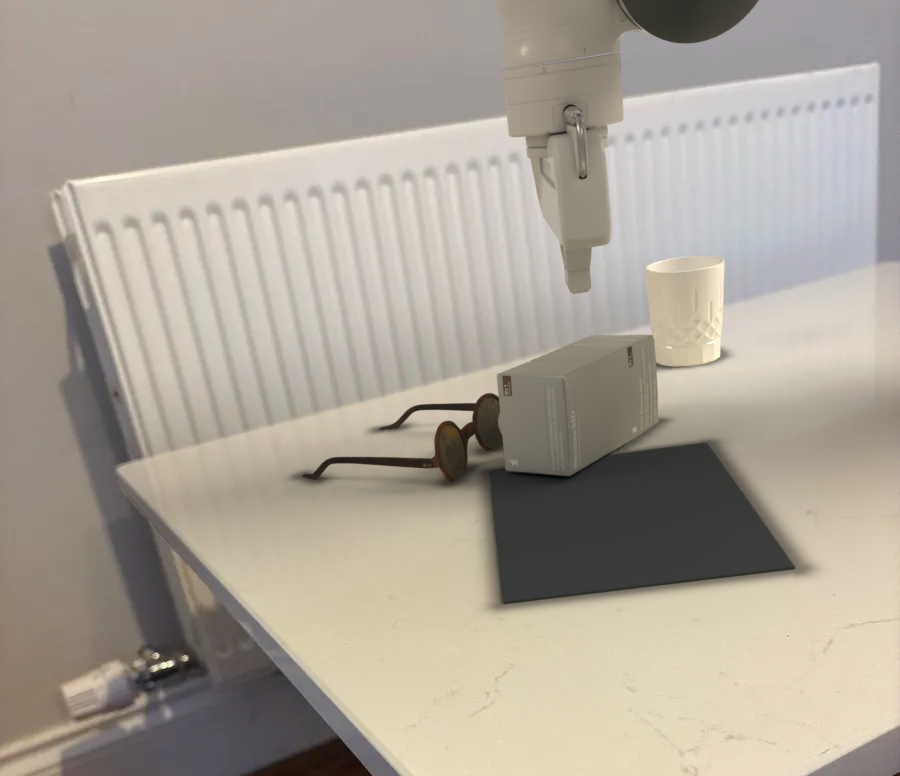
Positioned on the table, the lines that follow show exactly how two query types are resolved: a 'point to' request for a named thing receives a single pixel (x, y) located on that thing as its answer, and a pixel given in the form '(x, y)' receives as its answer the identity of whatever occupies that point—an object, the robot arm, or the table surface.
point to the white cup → (686, 309)
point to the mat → (627, 526)
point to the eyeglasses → (441, 439)
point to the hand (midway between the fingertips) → (578, 289)
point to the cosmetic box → (577, 403)
